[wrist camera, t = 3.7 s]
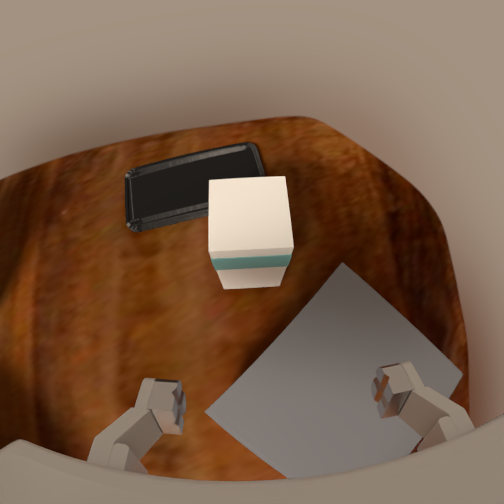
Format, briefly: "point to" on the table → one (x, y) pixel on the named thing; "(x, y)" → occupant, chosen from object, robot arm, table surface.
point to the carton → (250, 231)
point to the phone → (184, 184)
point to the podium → (330, 384)
